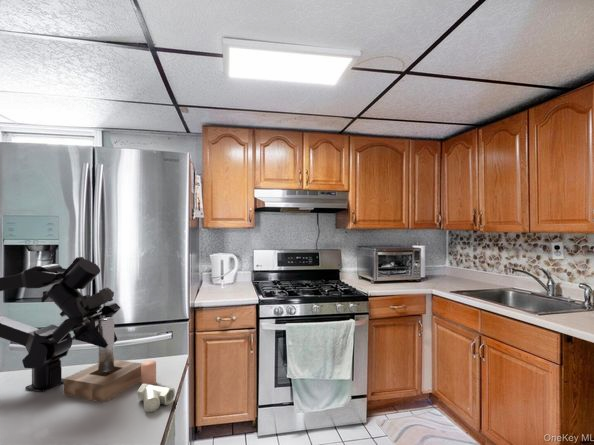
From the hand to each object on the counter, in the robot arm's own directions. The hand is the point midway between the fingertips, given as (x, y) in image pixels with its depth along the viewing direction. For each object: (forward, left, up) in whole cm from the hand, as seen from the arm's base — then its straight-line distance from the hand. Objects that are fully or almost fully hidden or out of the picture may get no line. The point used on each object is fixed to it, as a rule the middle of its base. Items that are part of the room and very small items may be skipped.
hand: (111, 343), depth 86 cm
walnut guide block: (-1, 0, -11) cm, 11 cm away
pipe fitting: (+17, -5, -11) cm, 21 cm away
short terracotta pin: (+9, +4, -11) cm, 15 cm away
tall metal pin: (-1, 0, -7) cm, 7 cm away
